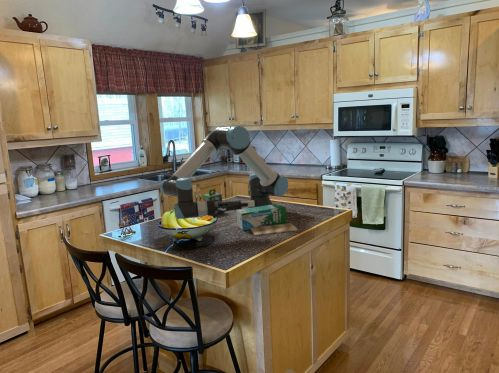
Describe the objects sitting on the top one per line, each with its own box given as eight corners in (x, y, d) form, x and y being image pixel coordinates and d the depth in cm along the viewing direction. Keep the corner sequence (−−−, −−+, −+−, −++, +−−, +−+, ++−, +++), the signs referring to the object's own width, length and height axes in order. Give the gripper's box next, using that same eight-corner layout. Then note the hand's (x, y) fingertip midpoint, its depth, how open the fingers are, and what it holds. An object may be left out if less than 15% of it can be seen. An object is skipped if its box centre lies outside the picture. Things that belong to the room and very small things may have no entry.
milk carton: (237, 226, 209) (280, 219, 217) (242, 230, 201) (286, 223, 209) (236, 209, 208) (279, 203, 215) (241, 213, 199) (286, 206, 207)
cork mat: (254, 235, 191) (254, 234, 191) (250, 228, 203) (250, 227, 203) (297, 230, 195) (297, 229, 195) (291, 224, 206) (291, 223, 206)
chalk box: (215, 209, 248) (213, 187, 245) (223, 212, 241) (221, 188, 238) (203, 212, 243) (201, 189, 240) (211, 215, 236) (209, 191, 233)
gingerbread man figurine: (122, 237, 203) (119, 215, 201) (117, 236, 205) (114, 214, 203) (136, 232, 210) (133, 211, 208) (131, 231, 212) (129, 210, 210)
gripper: (206, 212, 197) (252, 207, 201) (208, 219, 184) (257, 213, 188) (205, 198, 196) (251, 193, 200) (206, 203, 183) (256, 198, 187)
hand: (254, 203), depth 194 cm, fingers closed
